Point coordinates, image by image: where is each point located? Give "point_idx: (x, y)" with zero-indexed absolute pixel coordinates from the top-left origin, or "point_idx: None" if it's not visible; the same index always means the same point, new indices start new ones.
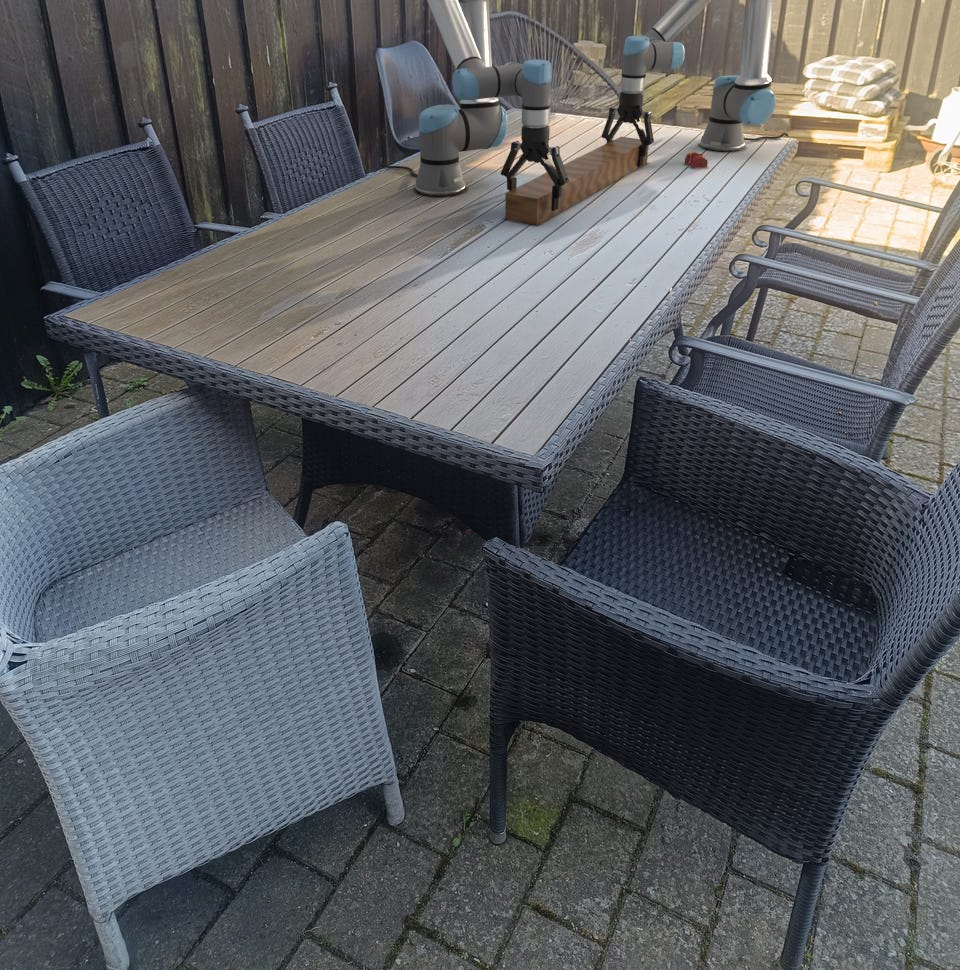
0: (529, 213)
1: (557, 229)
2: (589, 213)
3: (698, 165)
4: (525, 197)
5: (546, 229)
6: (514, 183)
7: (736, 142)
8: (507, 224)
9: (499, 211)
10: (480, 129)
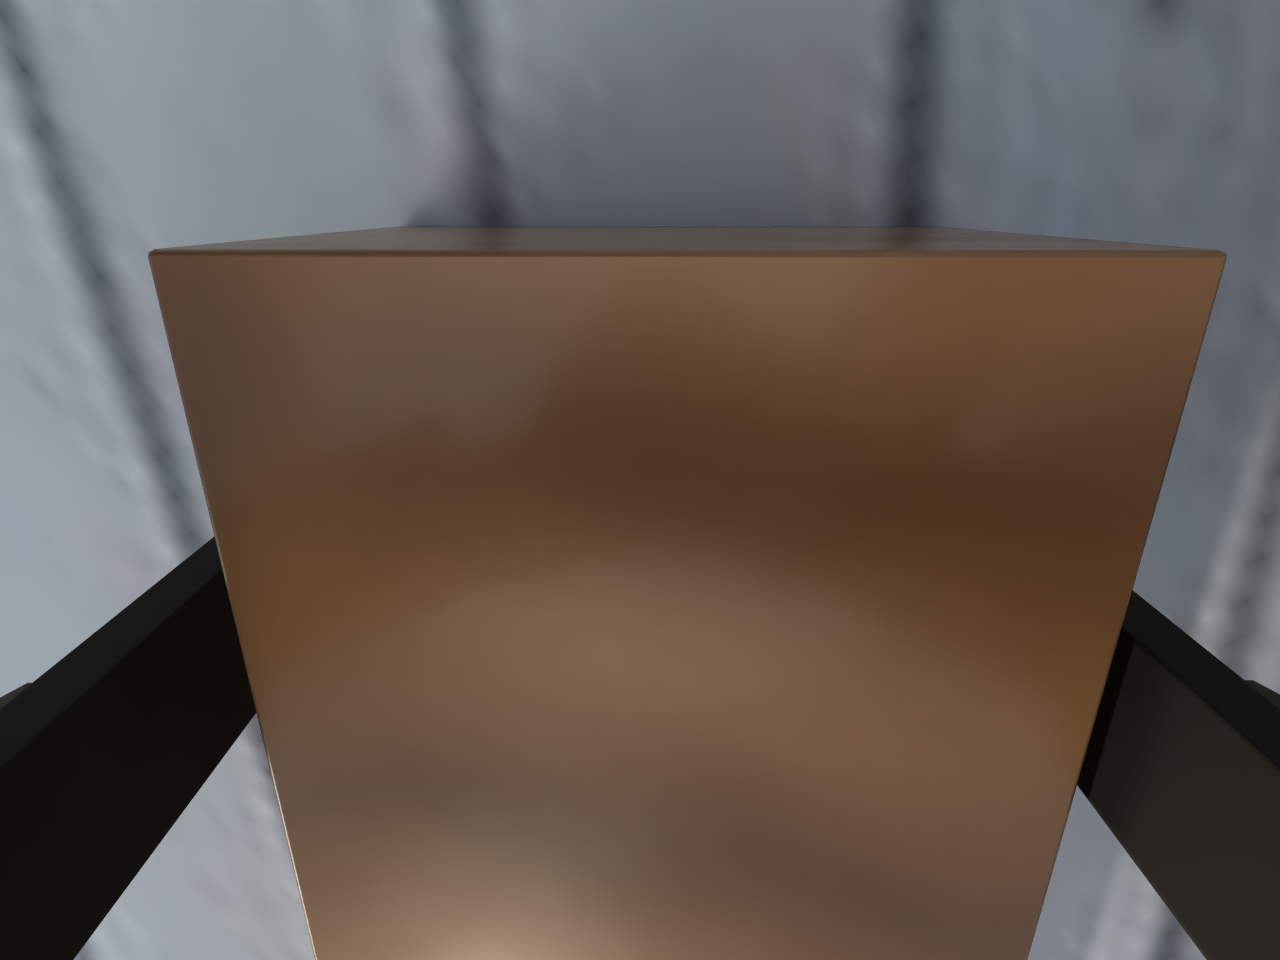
0: (490, 232)
1: (78, 248)
2: (208, 883)
3: None
4: (544, 246)
5: (188, 157)
6: (1202, 843)
7: None
8: (798, 14)
9: None
10: None
